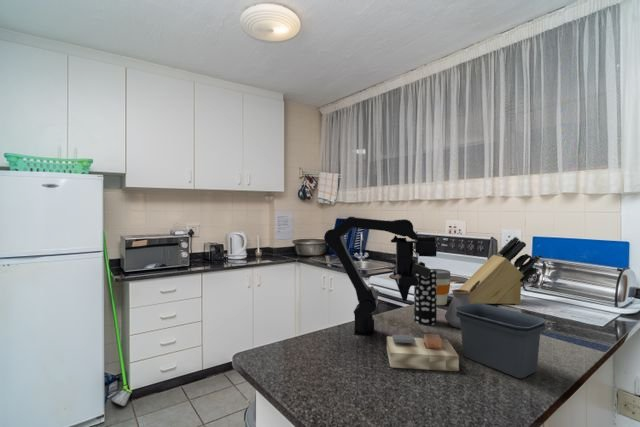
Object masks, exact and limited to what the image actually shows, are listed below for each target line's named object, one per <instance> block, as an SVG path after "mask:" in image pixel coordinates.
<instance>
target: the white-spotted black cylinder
mask: <svg viewBox="0 0 640 427" xmlns="http://www.w3.org/2000/svg"><path fill="white" fill-rule="evenodd" d="M430 269H431V272H430V274H429V277H428V278H425V277H424V276H421V275H418V274H416V273H415V275H414V276H415V277H416V278H417V279H418V286H413V321H414V323H416V324H418V325H422V326H434V325H437V319H438V318H437V316H438V315H437V311H438V310H437V307H438V305H437V271H436V270H433V269H434V268H430Z"/></svg>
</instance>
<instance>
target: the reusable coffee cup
mask: <svg viewBox="0 0 640 427" xmlns="http://www.w3.org/2000/svg"><path fill="white" fill-rule="evenodd" d="M432 269H433V270H436V271H437V306H445V305H447V303H448V296H449V294H450V290H451V289H450V288H451V283H450V282H451V277H452V276H451V271H450V270H448V269H444V268H443V269H442V268H432Z"/></svg>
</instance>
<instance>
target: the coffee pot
mask: <svg viewBox="0 0 640 427" xmlns="http://www.w3.org/2000/svg"><path fill="white" fill-rule="evenodd" d="M480 282H481V281H477V283H475V285H473V287H472V288H471V289H470V291H467V290H459V288H458V289H452V290H451V293H452V294H453V298H452V299H451V302H450V303H449V305H448V308H447V310H446V311H445V314H444V318H445V320H446V322H447V323H448V324H449V325H450V326H451V327H454V328H456V329H461V324H460V318H458V317H457V316H456V312H457V311H456V310H455V307H458V306H463V305H467V304H471V302H470V300H469V298H468V297H469V295H470V293H471V292H472V291H473V290H474V289H475V288H476V287H477V285H480V284H479V283H480ZM482 284H483V283H482Z"/></svg>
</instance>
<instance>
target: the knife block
mask: <svg viewBox="0 0 640 427" xmlns="http://www.w3.org/2000/svg"><path fill="white" fill-rule="evenodd" d="M525 247H527V243H526V242H524V241H522V240H520V238H519V237H518V236H514V237H513V238H512V239H511V240H509V241H508V242H507V243H506V244H505V245H504V246H502V248H501V249H500V250H499V251H498V252H497V254H492V256H490V258H488V259H487V261H485V262H484V263H483V264H482V265H481V266H480V267H479V268H478V269H477V270H476V271H475V272H474V273H473V274H472V275H471V276H470V277H469V278H468V279H467V280H466V281H465V282H464V283H463V284H462V285H461V286H460V287H459V288H458V289H459V290H467V291H470V289H471V288H472V287H473V285H475V283H477V281H481V282H480V283H479V284H480V285H477V287H476V288H475V289H474V290H473V291H472V292H471V293H470V295H469V297H468V298H469V300H470V302H471V304H472V303H480V304H486V305H491V304H493V305H495V304H499V305H500V304H505V305H520V304H521V296H522V295H521V293H522V292H521V291H522V284H523V283H525V282H526V281H528V280H529V279H530V278H531V277H532V276H533V275H535V274H536V273H539V271H540V270H539V268H536V267H534V265H535V264H536V263H537V262H538V261H539V260H541V258H540V257H539V256H538V255H536V256H534V257H532V255H529V254H528V253H524V254H522V255H520V256H519V257H517V255H519V254H520V253H521V251H522V250H523V249H524V248H525ZM515 257H517V258H516V259H515ZM513 259H515V261H514V263H512V260H513ZM482 283H483V284H482Z"/></svg>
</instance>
